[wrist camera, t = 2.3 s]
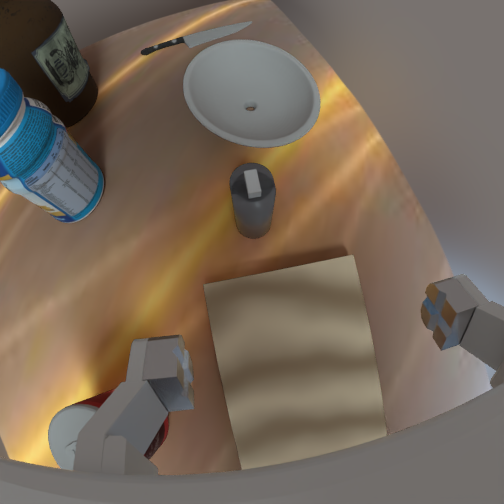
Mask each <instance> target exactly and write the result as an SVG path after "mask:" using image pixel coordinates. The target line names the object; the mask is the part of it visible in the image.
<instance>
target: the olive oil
mask: <svg viewBox="0 0 504 504" xmlns="http://www.w3.org/2000/svg"><path fill="white" fill-rule="evenodd" d="M0 68H2V69H4V70H6V71H7V72H8V73H9V74H10V75H11V76H12V77H13V79H14V80H15V81H16V82H17V84H18V85H19V86H20V88H21V90H22V92H23V95H24V97H27V98H32V99H36V100H38V101H40V102H42V103H44V104H45V105H46V106H47V107H48V108H49V109H50V111H51V114H52V115H54V116H56V117H57V118H58V119H59V120H60V121H61V122H62V123H63V124H64V126H65V127H66V128H67V127H69V126H71V125H73V124H75V123H76V122H78V121H79V120H81V119H82V118H83V117H84V116H85V115H86V114H87V113H88V112H89V111H90V109H91V108H92V106H93V105H94V103H95V101H96V98H97V95H98V89H97V86H96V84H95V82H94V80H93V78H92V76H91V74H90V72H89V70H90V68H89V65H88V63H87V61H86V60H85V59H83V58H82V56H81V54H80V52H79V50H78V48H77V45H76V43H75V41H74V39H73V37H72V35H71V33H70V30H69V28H68V26H67V23H66V21H65V19H64V16H63V14H62V12H61V11H60V9H59V8H58V6H57V5H56V4H54V3H53V2H52V1H51V0H0Z"/></svg>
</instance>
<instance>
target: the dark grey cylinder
mask: <svg viewBox="0 0 504 504" xmlns="http://www.w3.org/2000/svg"><path fill="white" fill-rule="evenodd" d="M230 190H231V196H232V202H233V208H234V214H235V220H236V225H237V228H238V230H239V232H240V233H241V234H242V235H243V236H245V237H247V238H251V239H256V238H260V237H262V236H264V235H265V234H266V233H267V232H268V231H269V229H270V226H271V220H272V214H273V208H274V201H275V195H276V188H275V184H274V179H273V176H272V174H271V172H270V171H269V170H268V169H267V168H266V167H264V166H263V165H260V164H257V163H246V164H243V165H241V166H239V167H237V168H236V169H235V170H234V171H233V173H232V175H231V177H230Z"/></svg>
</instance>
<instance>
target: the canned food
mask: <svg viewBox="0 0 504 504" xmlns="http://www.w3.org/2000/svg"><path fill="white" fill-rule="evenodd" d="M115 389H116V388H115ZM115 389H113V390H110V391H107V392H105V393H102V394H99V395H97V396H94V397H91V398H89V399H86V400H83V401H80V402H78V403H75V404H72V405H70V406H67V407H65V408H64V409H62V410H61V411H59V412H58V413H57V414H56V415H55V416H54V417H53V418H52V421H51V423H50V425H49V430H48V441H49V446H50V449H51V452H52V455H53V457H54V459H55V460H56V462H57V464H58V465H59V466H60V468H61V469H66V470H73V465H74V458H75V451H76V444H77V438H78V433H79V432H80V431H81V429H82V428H83V427H84V426H85V425H86V423H87V422H88V421H89V420H90V419H91V417H92V416H93V415H94V414H95V413H96V412H97V410H98V409H99V408H100V407H101V406H102V404H103V403H104V402H105V401H106V400H107V399H108V397H109V396H110V395H111V394H112V393H113V391H114V390H115ZM168 427H169V424H168V417H166V419H165V420H164V422H163V424H162V425H161V427H160V429H159V430H158V432H157V434H156V435H155V437H154V439H153V440H152V442H151V444H150V445H149V447H148V449H147V450H146V452H145V454H144V456H145V457H146V458H147V459H148V460H149V459H150V458H151V457H152V456H153V454H154V453H155V452H156V451H157V449H158V448H159V447H160V446H161V445H162V443H163V442H164V440H165V439H166V436H167V433H168Z"/></svg>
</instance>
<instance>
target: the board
mask: <svg viewBox="0 0 504 504" xmlns="http://www.w3.org/2000/svg"><path fill="white" fill-rule="evenodd" d="M203 287H204V293H205V298H206V304H207V310H208V315H209V320H210V326H211V331H212V336H213V342H214V347H215V352H216V357H217V362H218V367H219V371H220V376H221V381H222V386H223V390H224V395H225V400H226V404H227V409H228V413H229V417H230V422H231V426H232V430H233V435H234V439H235V443H236V447H237V451H238V456H239V460H240V464H241V468H242V470H243V469H250V468H257V467H263V466H270V465H275V464H281V463H286V462H291V461H296V460H301V459H306V458H310V457H315V456H319V455H323V454H327V453H331V452H335V451H338V450H342V449H346V448H349V447H353V446H356V445H359V444H363V443H366V442H369V441H372V440H375V439H378V438H381V437H384V436H387V430H386V422H385V415H384V407H383V400H382V394H381V387H380V381H379V375H378V369H377V363H376V357H375V352H374V346H373V341H372V336H371V331H370V326H369V321H368V316H367V311H366V307H365V302H364V298H363V293H362V289H361V285H360V280H359V276H358V272H357V268H356V264H355V260H354V256H353V255H349V256H344V257H339V258H334V259H330V260H325V261H320V262H315V263H310V264H305V265H300V266H295V267H290V268H285V269H280V270H275V271H270V272H265V273H260V274H255V275H250V276H245V277H240V278H234V279H229V280H224V281H219V282H213V283H208V284H203Z"/></svg>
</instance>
